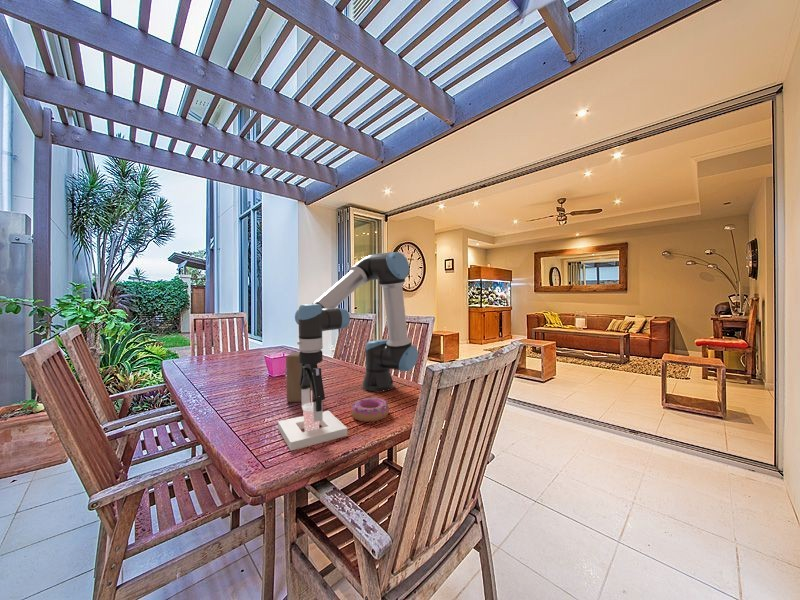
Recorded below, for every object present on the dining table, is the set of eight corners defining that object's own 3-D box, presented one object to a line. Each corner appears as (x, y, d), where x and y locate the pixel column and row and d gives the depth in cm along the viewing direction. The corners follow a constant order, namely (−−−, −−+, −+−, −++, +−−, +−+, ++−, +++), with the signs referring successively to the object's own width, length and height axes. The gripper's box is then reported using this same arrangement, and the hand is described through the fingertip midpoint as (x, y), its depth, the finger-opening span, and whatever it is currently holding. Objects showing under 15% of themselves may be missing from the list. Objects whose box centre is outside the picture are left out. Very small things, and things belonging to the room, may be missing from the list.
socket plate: (328, 417, 118) (328, 410, 118) (347, 435, 102) (347, 428, 102) (278, 428, 108) (277, 421, 108) (290, 450, 93) (290, 442, 93)
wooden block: (309, 402, 133) (308, 355, 132) (285, 402, 133) (285, 355, 132) (316, 395, 143) (315, 351, 142) (294, 395, 143) (293, 351, 142)
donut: (344, 414, 120) (344, 401, 120) (374, 406, 129) (374, 393, 129) (365, 427, 109) (365, 413, 109) (397, 416, 118) (396, 403, 118)
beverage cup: (310, 426, 109) (310, 386, 109) (325, 429, 107) (324, 389, 106) (298, 434, 104) (297, 392, 103) (313, 437, 101) (313, 394, 101)
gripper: (290, 346, 113) (290, 404, 114) (310, 358, 92) (311, 430, 93) (310, 344, 117) (311, 400, 118) (335, 355, 96) (335, 424, 97)
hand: (311, 413), depth 105 cm, fingers open, 13 cm apart
